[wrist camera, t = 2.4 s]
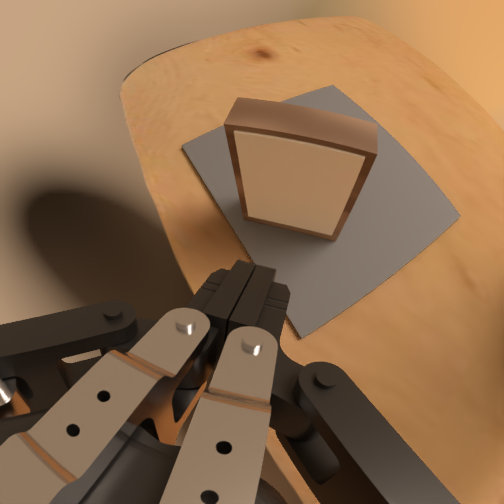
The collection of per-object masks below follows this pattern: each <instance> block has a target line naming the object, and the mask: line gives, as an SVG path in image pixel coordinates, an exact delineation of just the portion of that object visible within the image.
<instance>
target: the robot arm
mask: <svg viewBox="0 0 504 504" xmlns="http://www.w3.org/2000/svg"><path fill="white" fill-rule="evenodd" d="M276 270H277V269H274V268H270V267H266V266H262V265H257V264H254V263H250V262H246V261H241V260H237V261H236V263H235V264H234V266H233V267H232V269H231V270H230V271H229V270H225V269H220V270H218V271H216V272H213V273H211V275H210V276H209V277H208V279H207V280H206V282H204V284H203V285H202V286H201V288H200V289H199V290H198V291H197V293H196V294H195V295H194V296H193V298H192V299H191V300H190V302H189V303H188V305H187V306H186V307H185V308H178V309H174V310H171V311H169V312H168V313H166V314H165V315H164V316H163V317H162V318H161V319H160V320H151V319H142V318H136V311H135V309H134V307H133V306H132V305H130V304H129V303H127V302H124V301H118V300H114V301H113V300H112V301H106V302H102V303H98V304H93V305H89V306H85V307H80V308H76V309H71V310H67V311H63V312H58V313H53V314H49V315H45V316H40V317H35V318H30V319H26V320H22V321H16V322H12V323H7V324H2V325H0V504H287V502H286V501H285V500H284V498H283V497H282V496H281V495H280V493H279V492H277V490H275V489H274V488H273V487H272V486H271V485H270V484H268V483H267V482H266V481H264V480H263V479H261V478H260V473H261V468H262V462H263V456H264V451H265V446H266V440H267V434H268V428H269V427H271V428H273V429H274V430H276V435H277V437H278V439H279V441H280V442H281V444H282V446H283V447H284V449H285V451H286V452H287V454H288V455H289V457H290V459H291V460H292V462H293V463H294V465H295V466H296V468H297V470H298V471H299V473H300V474H301V476H302V477H303V479H304V480H305V482H306V483H307V485H308V486H309V488H310V489H311V491H312V492H313V494H314V495H315V497H316V498H317V499H318V501H319V502H320V504H460V503H459V502H458V501H457V500H456V499H455V497H454V496H453V495H452V494H451V493H450V492H449V491H448V490H447V488H446V487H445V486H444V485H443V484H442V483H441V482H440V481H439V479H438V478H437V477H436V476H435V475H434V474H433V473H432V472H431V470H430V469H429V468H428V467H427V466H426V465H425V464H424V462H423V461H422V460H421V459H420V458H419V457H418V456H417V455H416V453H415V452H414V451H413V450H412V449H411V448H410V447H409V445H408V444H407V443H406V442H405V441H404V440H403V439H402V437H401V436H400V435H399V434H398V433H397V432H396V431H395V429H394V428H393V427H392V426H391V425H390V424H389V423H388V421H387V420H386V419H385V418H384V417H383V416H382V415H381V413H380V412H379V411H378V410H377V409H376V408H375V406H374V405H373V404H372V403H371V402H370V401H369V400H368V398H367V397H366V396H365V395H364V394H363V393H362V391H361V390H360V389H359V388H358V387H357V386H356V385H355V383H354V382H353V381H352V380H351V379H350V378H349V376H348V375H347V374H346V373H345V372H344V371H343V370H342V369H341V368H339V367H338V366H336V365H334V364H331V363H328V362H313V363H310V364H307V365H306V366H302V365H300V364H298V363H296V362H294V361H293V360H291V359H290V358H289V357H287V356H286V355H285V354H284V352H283V351H282V349H281V347H280V336H281V332H282V328H283V324H284V320H285V316H286V311H287V307H288V303H289V299H290V294H291V293H290V291H289V289H288V286H287V285H285V284H281V283H277V282H274V280H275V276H276ZM97 349H100V352H101V355H102V356H98V357H95V358H91V359H88V360H83V361H79V362H75V363H66V362H64V361H62V360H61V359H62V358H65V357H69V356H74V355H77V354H82V353H86V352H89V351H93V350H97ZM212 370H215V372H214V375H213V378H212V381H211V383H210V386H209V389H208V390H204V389H205V387H206V382H207V379H208V377H209V375H210V373H211V371H212ZM202 392H203V393H202ZM201 394H202V395H201ZM200 396H201V397H200ZM199 397H200V400H199V403H198V405H197V407H196V410H195V413H194V416H193V418H192V421H191V423H190V426H189V428H188V431H187V434H186V436H185V439H184V442H183V444H182V447H180V446H175V443H176V440H177V435H178V432H179V430H180V428H181V426H182V425H183V423H184V421H185V420H186V418H187V417H188V415H189V413H190V412H191V410H192V408H193V407H194V405H195V404H196V402H197V400H198V399H199Z"/></svg>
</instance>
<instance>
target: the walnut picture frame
mask: <svg viewBox="0 0 504 504" xmlns="http://www.w3.org/2000/svg"><path fill="white" fill-rule="evenodd" d="M224 128H225V133H226V137H227V142H228V147H229V152H230V157H231V161H232V166H233V171H234V176H235V180H236V185H237V190H238V195H239V200H240V204H241V209H242V214H243V219H244V220H246V221H251V222H255V223H260V224H264V225H269V226H273V227H277V228H282V229H286V230H290V231H295V232H299V233H303V234H307V235H312V236H316V237H320V238H324V239H328V240H332V241H336V240H337V238H338V236H339V234H340V232H341V230H342V228H343V226H344V224H345V222H346V220H347V218H348V216H349V214H350V212H351V210H352V208H353V206H354V204H355V202H356V200H357V198H358V196H359V194H360V192H361V190H362V187H363V185H364V183H365V181H366V179H367V177H368V174H369V172H370V170H371V168H372V166H373V163H374V161H375V159H376V157H377V152H378V138H377V124H376V123H372V122H369V121H365V120H361V119H358V118H354V117H350V116H346V115H342V114H338V113H333V112H329V111H324V110H319V109H314V108H309V107H304V106H298V105H293V104H287V103H280V102H273V101H266V100H258V99H249V98H239V97H238V98H237V99H236V101H235V103H234V105H233V107H232V109H231V111H230V113H229V115H228V116H227V118H226V120H225V122H224Z"/></svg>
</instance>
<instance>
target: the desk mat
mask: <svg viewBox="0 0 504 504" xmlns="http://www.w3.org/2000/svg"><path fill="white" fill-rule="evenodd" d="M280 103H287V104H293V105H298V106H304V107H309V108H314V109H319V110H324V111H329V112H333V113H338V114H342V115H346V116H350V117H354V118H358V119H361V120H365V121H369V122H372V123H376V124H377V138H378V152H377V157H376V159H375V161H374V163H373V166H372V168H371V170H370V172H369V174H368V177H367V179H366V181H365V183H364V185H363V187H362V190H361V192H360V194H359V196H358V198H357V200H356V202H355V204H354V206H353V208H352V210H351V212H350V214H349V216H348V218H347V220H346V222H345V224H344V226H343V228H342V230H341V232H340V234H339V236H338V238H337V240H336V241H332V240H328V239H324V238H320V237H316V236H312V235H307V234H303V233H299V232H295V231H290V230H286V229H282V228H277V227H273V226H269V225H264V224H260V223H255V222H251V221H246V220H244V219H243V214H242V209H241V204H240V200H239V195H238V190H237V185H236V180H235V176H234V171H233V166H232V161H231V157H230V152H229V147H228V142H227V137H226V133H225V128H224V125H223V126H221V127H218V128H216V129H214V130H212V131H210V132H208V133H206V134H204V135H201V136H199V137H197V138H195V139H193V140H191V141H189V142H187V143H185V144H183V145H182V147H183V149H184V151H185V152H186V154H187V156H188V157H189V159H190V160H191V162H192V164H193V165H194V167H195V169H196V170H197V172H198V173H199V175H200V177H201V178H202V180H203V182H204V183H205V185H206V186H207V188H208V190H209V191H210V193H211V194H212V196H213V198H214V199H215V201H216V203H217V204H218V206H219V207H220V209H221V211H222V212H223V214H224V215H225V217H226V219H227V220H228V222H229V224H230V225H231V227H232V228H233V230H234V232H235V233H236V235H237V236H238V238H239V240H240V241H241V243H242V244H243V246H244V248H245V249H246V251H247V253H248V254H249V256H250V257H251V259H252V261H253V262H254V264H257V265H262V266H266V267H270V268H274V269H277V270H276V276H275V280H274V282H277V283H281V284H285V285H287V286H288V289H289V291H290V293H291V294H290V299H289V303H288V307H287V311H286V315H287V317H288V318H289V320H290V321H291V323H292V325H293V326H294V328H295V329H296V331H297V333H298V334H299V336H300V337H301V338H303V337H305V336H306V335H308V334H309V333H311V332H313V331H314V330H316V329H317V328H319V327H320V326H322V325H323V324H325V323H326V322H328V321H329V320H331V319H332V318H334V317H335V316H337V315H338V314H340V313H341V312H343V311H344V310H345V309H347V308H348V307H350V306H351V305H353V304H354V303H355V302H357V301H358V300H360V299H361V298H362V297H364V296H365V295H366V294H368V293H369V292H371V291H372V290H373V289H375V288H376V287H377V286H379V285H380V284H381V283H383V282H384V281H385V280H386V279H388V278H389V277H390V276H392V275H393V274H394V273H395V272H397V271H398V270H399V269H400V268H402V267H403V266H404V265H405V264H407V263H408V262H409V261H410V260H412V259H413V258H414V257H415V256H416V255H418V254H419V253H420V252H421V251H422V250H424V249H425V248H426V247H427V246H428V245H429V244H431V243H432V242H433V241H434V240H435V239H436V238H437V237H438V236H440V235H441V234H442V233H443V232H444V231H445V230H446V229H447V228H448V227H450V226H451V225H452V224H453V223H454V222H455V221H456V220H457V219H458V218H459V217H460V216H461V215H460V214H459V213H458V211H457V210H456V209H455V207H454V206H453V205H452V203H451V202H450V201H449V199H448V198H447V197H446V196H445V194H444V193H443V192H442V191H441V189H440V188H439V187H438V186H437V184H436V183H435V182H434V181H433V180H432V178H431V177H430V176H429V175H428V174H427V173H426V171H425V170H424V169H423V168H422V167H421V166H420V165H419V164H418V162H417V161H416V160H415V159H414V158H413V157H412V156H411V155H410V154H409V153H408V152H407V151H406V150H405V149H404V148H403V147H402V146H401V145H400V143H399V142H398V141H397V140H396V139H395V138H393V137H392V136H391V135H390V134H389V133H388V132H387V131H386V130H385V129H384V128H383V127H382V126H381V125H380V124H379V123H378V122H377V121H376V120H374V119H373V118H372V117H371V116H370V115H369V114H368V113H367V112H365V111H364V110H363V109H362V108H361V107H360V106H358V105H357V104H356V103H355V102H354V101H352V100H351V99H350V98H349V97H348V96H346V95H345V94H344V93H343V92H341V91H340V90H339V89H337V88H336V87H335V86H334V85H331V86H328V87H324V88H321V89H318V90H314V91H311V92H308V93H305V94H302V95H299V96H296V97H293V98H290V99H288V100H285V101H282V102H280Z"/></svg>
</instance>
